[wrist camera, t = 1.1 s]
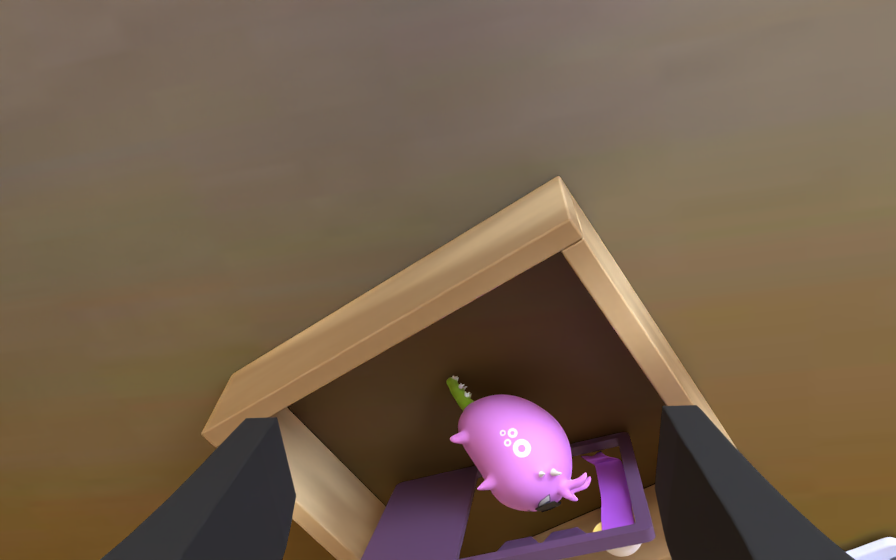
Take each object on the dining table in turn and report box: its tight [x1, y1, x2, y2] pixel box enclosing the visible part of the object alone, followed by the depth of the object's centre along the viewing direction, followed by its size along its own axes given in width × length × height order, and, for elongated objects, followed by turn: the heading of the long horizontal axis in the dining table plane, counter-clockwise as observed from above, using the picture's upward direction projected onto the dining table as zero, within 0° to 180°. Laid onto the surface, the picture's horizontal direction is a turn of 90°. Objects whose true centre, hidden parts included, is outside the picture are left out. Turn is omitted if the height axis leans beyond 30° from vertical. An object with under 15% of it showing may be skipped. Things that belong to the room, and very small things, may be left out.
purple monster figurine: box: [361, 375, 656, 560], centre depth 23 cm, size 7×5×9 cm
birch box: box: [201, 176, 737, 560], centre depth 24 cm, size 13×13×3 cm
